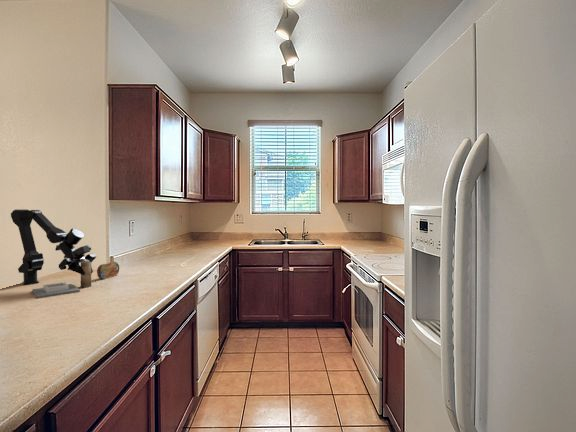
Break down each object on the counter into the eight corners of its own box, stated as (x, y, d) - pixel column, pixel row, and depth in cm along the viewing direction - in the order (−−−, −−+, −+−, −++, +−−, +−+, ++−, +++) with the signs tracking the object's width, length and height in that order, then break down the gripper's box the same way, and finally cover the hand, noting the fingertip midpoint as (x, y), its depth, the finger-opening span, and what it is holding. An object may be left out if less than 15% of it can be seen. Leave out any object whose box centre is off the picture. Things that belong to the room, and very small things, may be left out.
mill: (79, 286, 166) (79, 260, 165) (89, 284, 169) (89, 259, 169) (82, 287, 163) (82, 261, 162) (92, 286, 166) (92, 260, 165)
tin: (100, 280, 180) (100, 265, 180) (95, 280, 181) (95, 264, 180) (119, 274, 195) (119, 260, 195) (115, 274, 195) (115, 260, 195)
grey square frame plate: (32, 291, 155) (32, 285, 155) (71, 285, 167) (71, 280, 167) (38, 298, 144) (37, 291, 144) (79, 291, 156) (79, 285, 155)
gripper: (63, 242, 157) (83, 266, 155) (93, 238, 175) (111, 260, 173) (49, 257, 158) (69, 281, 157) (80, 252, 177) (98, 273, 175)
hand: (88, 273), depth 165 cm, fingers closed on mill, 5 cm apart
